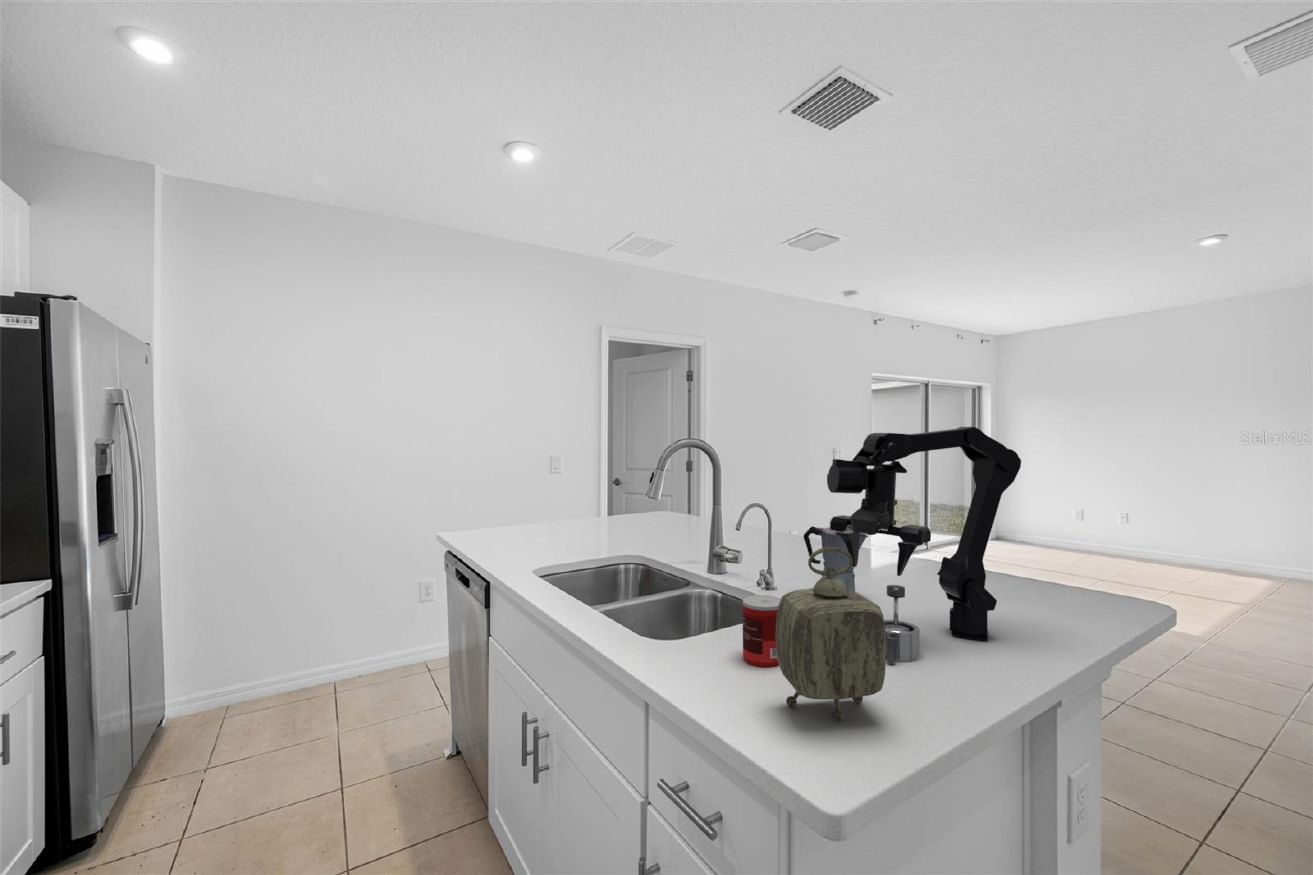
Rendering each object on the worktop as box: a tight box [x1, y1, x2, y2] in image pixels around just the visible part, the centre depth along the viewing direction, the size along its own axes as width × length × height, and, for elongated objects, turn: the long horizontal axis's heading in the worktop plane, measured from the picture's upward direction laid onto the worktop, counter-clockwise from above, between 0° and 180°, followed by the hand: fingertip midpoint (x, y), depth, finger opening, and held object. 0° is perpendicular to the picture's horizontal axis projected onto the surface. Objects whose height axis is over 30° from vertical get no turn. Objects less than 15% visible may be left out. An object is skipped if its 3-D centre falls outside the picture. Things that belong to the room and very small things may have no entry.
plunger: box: [885, 584, 910, 633], centre depth 111 cm, size 5×5×8 cm
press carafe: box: [884, 619, 921, 666], centre depth 110 cm, size 8×11×5 cm
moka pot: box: [803, 525, 869, 592], centre depth 146 cm, size 10×15×20 cm, turn 78°
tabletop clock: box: [775, 547, 887, 722], centre depth 87 cm, size 14×9×25 cm, turn 97°
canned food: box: [742, 594, 782, 668], centre depth 108 cm, size 8×8×11 cm
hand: (876, 571), depth 118 cm, fingers open, 9 cm apart
